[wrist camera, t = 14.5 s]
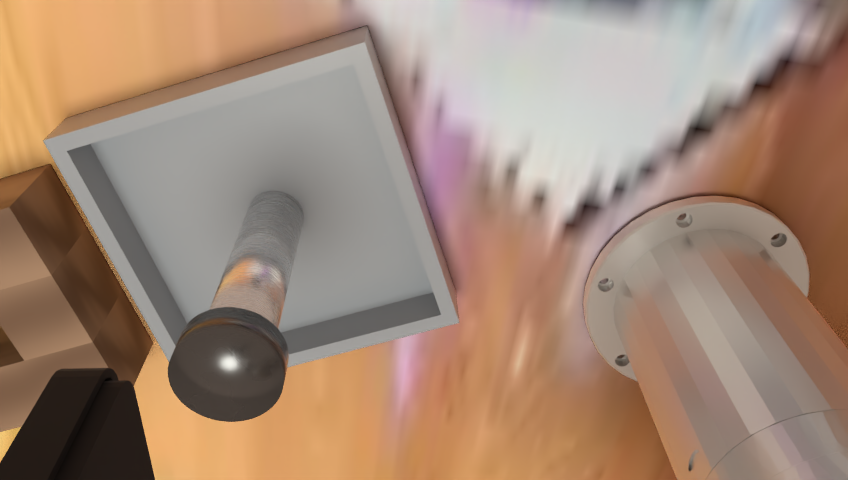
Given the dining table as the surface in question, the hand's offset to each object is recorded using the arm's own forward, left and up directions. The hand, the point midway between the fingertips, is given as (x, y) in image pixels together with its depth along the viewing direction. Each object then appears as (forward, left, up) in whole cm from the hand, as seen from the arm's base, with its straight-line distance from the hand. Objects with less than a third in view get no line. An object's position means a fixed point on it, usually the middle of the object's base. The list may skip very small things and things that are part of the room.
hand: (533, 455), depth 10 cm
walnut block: (-10, +28, -32) cm, 43 cm away
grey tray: (-10, +12, -32) cm, 35 cm away
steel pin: (-10, +12, -31) cm, 35 cm away
